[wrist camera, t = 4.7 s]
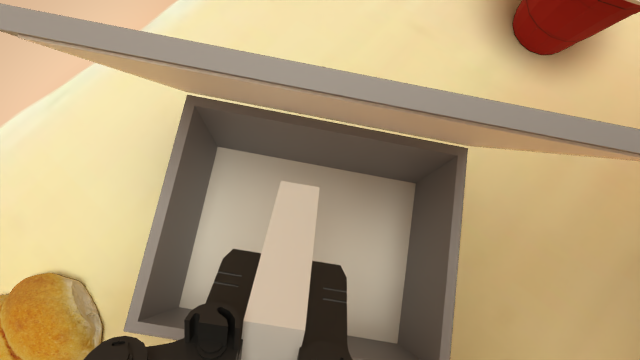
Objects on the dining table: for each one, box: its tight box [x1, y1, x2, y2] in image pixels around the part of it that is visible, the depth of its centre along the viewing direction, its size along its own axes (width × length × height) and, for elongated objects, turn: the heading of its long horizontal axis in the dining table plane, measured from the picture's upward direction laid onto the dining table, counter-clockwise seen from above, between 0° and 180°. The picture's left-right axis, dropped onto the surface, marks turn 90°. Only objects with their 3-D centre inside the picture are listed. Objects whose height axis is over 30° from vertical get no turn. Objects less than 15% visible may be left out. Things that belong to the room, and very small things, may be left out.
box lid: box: [0, 4, 640, 161], centre depth 17 cm, size 19×14×1 cm
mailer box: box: [124, 95, 468, 360], centre depth 28 cm, size 18×14×9 cm
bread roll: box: [0, 273, 103, 360], centre depth 27 cm, size 8×9×4 cm
